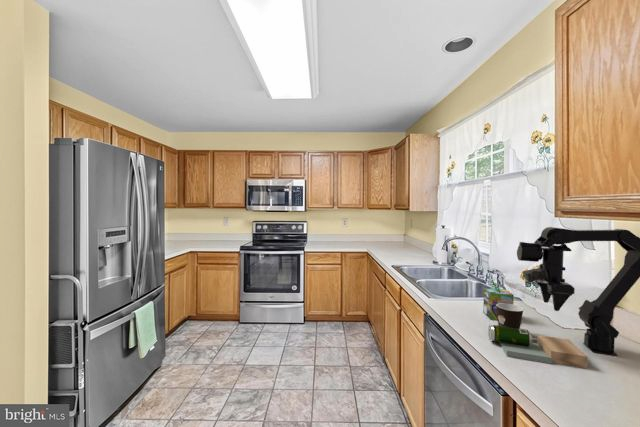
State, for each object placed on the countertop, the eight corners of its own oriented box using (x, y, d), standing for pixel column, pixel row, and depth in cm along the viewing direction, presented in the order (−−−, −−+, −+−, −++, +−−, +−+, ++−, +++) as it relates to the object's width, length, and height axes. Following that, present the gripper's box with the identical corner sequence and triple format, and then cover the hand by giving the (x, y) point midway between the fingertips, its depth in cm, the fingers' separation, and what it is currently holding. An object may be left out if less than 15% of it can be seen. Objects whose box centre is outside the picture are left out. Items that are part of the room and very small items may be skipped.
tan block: (568, 349, 98) (569, 339, 98) (587, 368, 87) (587, 356, 87) (536, 344, 101) (537, 335, 101) (550, 362, 90) (551, 350, 90)
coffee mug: (526, 339, 106) (527, 312, 105) (500, 336, 107) (501, 310, 107) (512, 326, 117) (513, 301, 117) (489, 324, 119) (489, 300, 118)
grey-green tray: (535, 343, 102) (536, 338, 102) (551, 363, 89) (552, 357, 89) (496, 337, 106) (496, 332, 106) (506, 356, 93) (506, 350, 93)
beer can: (527, 326, 101) (488, 321, 105) (532, 335, 96) (491, 329, 100) (526, 340, 102) (487, 335, 106) (531, 350, 97) (490, 343, 101)
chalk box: (513, 322, 122) (514, 287, 121) (489, 319, 124) (490, 285, 123) (504, 314, 131) (505, 281, 130) (482, 312, 133) (483, 280, 132)
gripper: (518, 256, 114) (516, 296, 114) (534, 265, 96) (533, 312, 97) (552, 259, 110) (550, 299, 111) (576, 268, 93) (574, 317, 93)
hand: (550, 306), depth 103 cm, fingers open, 9 cm apart
